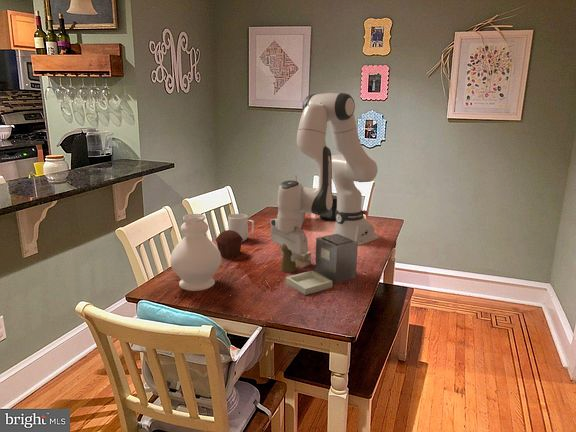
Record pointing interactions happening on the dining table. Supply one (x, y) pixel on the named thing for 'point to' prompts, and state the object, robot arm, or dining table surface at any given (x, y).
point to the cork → (287, 261)
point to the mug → (240, 224)
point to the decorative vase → (195, 255)
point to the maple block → (303, 259)
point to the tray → (309, 282)
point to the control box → (336, 257)
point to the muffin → (229, 243)
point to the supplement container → (331, 211)
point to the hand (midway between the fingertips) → (288, 258)
